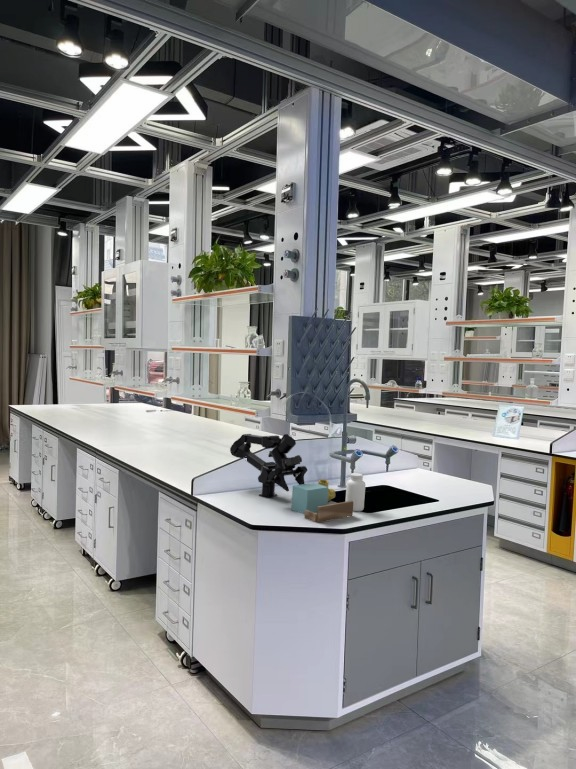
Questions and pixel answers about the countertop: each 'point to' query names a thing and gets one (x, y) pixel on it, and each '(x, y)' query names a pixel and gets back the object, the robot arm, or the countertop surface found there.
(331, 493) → the ball valve
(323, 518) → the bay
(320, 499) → the crate
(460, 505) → the countertop surface
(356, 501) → the pill bottle
